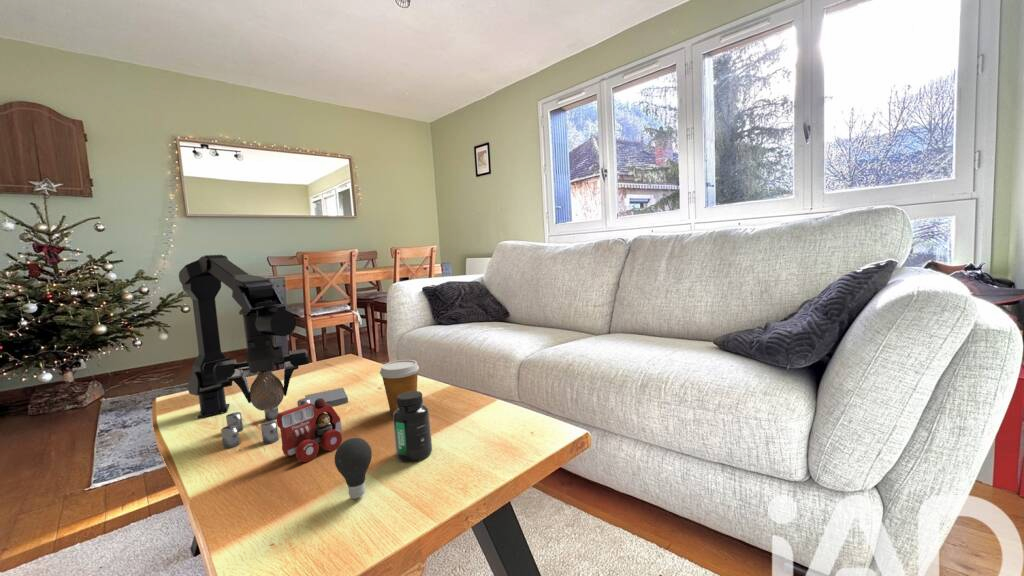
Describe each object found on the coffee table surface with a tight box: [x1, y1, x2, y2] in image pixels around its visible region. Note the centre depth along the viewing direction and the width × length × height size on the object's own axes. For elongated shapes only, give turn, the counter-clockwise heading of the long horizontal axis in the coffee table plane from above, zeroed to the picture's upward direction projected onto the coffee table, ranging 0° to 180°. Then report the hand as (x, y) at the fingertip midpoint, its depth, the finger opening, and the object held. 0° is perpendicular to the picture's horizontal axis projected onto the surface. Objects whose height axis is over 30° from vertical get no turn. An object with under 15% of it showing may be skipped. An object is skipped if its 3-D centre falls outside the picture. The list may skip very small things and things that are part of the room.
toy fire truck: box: [275, 398, 343, 463], centre depth 84 cm, size 7×12×10 cm, turn 145°
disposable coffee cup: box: [379, 359, 420, 416], centre depth 103 cm, size 10×10×12 cm
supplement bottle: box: [392, 390, 433, 463], centre depth 80 cm, size 7×7×12 cm
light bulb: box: [334, 437, 373, 501], centre depth 67 cm, size 6×6×10 cm
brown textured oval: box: [249, 370, 285, 411], centre depth 97 cm, size 7×7×9 cm
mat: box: [304, 387, 349, 407], centre depth 114 cm, size 10×10×2 cm
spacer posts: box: [220, 397, 311, 450], centre depth 97 cm, size 18×18×4 cm
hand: (267, 398), depth 97 cm, fingers closed on brown textured oval, 7 cm apart
